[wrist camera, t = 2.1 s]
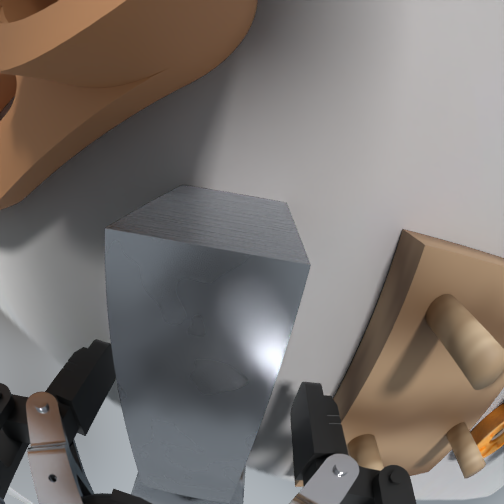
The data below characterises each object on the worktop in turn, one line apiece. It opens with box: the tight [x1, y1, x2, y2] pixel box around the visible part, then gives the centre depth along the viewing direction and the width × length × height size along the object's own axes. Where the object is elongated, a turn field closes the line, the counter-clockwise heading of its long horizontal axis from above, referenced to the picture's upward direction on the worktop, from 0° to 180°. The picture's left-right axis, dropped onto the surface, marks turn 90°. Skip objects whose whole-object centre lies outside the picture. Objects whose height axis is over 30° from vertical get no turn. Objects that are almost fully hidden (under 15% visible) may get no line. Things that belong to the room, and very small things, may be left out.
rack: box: [295, 229, 504, 487], centre depth 12 cm, size 18×12×6 cm, turn 170°
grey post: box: [105, 185, 310, 504], centre depth 11 cm, size 18×6×6 cm, turn 170°
